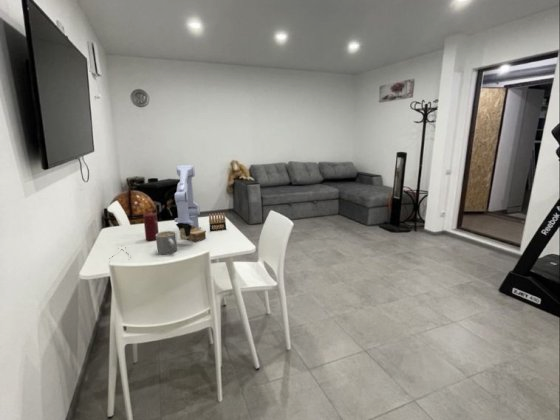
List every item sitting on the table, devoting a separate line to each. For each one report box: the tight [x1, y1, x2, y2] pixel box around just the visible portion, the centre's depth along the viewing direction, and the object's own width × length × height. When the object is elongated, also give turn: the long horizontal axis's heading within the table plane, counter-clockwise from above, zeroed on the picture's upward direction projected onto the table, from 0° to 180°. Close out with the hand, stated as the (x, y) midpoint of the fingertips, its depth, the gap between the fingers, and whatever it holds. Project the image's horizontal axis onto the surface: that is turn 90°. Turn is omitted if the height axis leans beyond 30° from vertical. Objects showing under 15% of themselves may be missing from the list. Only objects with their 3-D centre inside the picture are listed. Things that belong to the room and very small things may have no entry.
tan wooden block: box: [179, 228, 190, 241], centre depth 170 cm, size 4×4×6 cm
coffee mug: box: [155, 230, 178, 256], centre depth 160 cm, size 13×10×10 cm
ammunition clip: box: [208, 212, 227, 233], centre depth 195 cm, size 11×2×12 cm, turn 108°
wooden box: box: [179, 232, 207, 243], centre depth 182 cm, size 14×8×4 cm, turn 56°
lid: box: [190, 226, 207, 236], centre depth 180 cm, size 15×8×3 cm, turn 56°
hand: (185, 235), depth 171 cm, fingers closed on tan wooden block, 3 cm apart
